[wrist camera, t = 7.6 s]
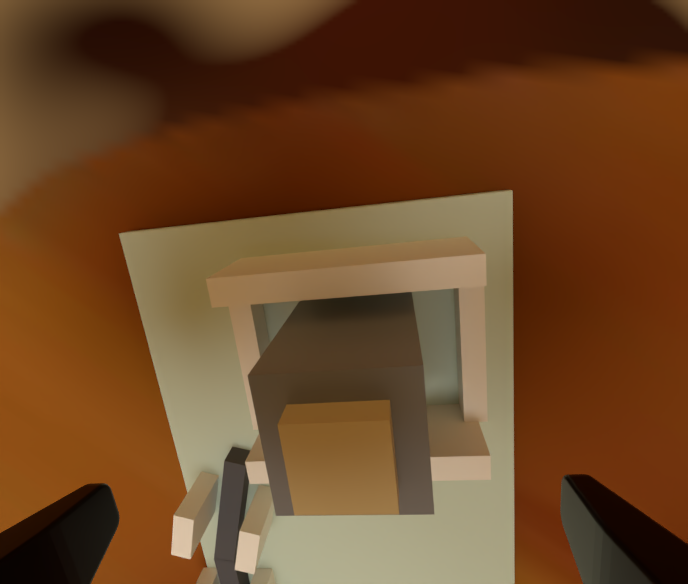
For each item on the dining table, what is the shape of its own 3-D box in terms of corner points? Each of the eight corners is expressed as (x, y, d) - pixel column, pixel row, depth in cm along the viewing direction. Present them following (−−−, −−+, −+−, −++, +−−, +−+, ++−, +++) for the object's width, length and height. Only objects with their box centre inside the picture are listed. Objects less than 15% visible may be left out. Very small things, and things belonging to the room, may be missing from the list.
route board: (507, 189, 14) (512, 190, 13) (511, 670, 20) (515, 685, 20) (128, 231, 16) (118, 233, 15) (238, 658, 22) (235, 671, 22)
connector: (410, 288, 15) (426, 383, 8) (418, 389, 16) (437, 543, 9) (301, 298, 15) (235, 393, 9) (316, 394, 16) (267, 542, 10)
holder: (475, 235, 14) (497, 252, 11) (481, 423, 16) (500, 480, 13) (233, 258, 15) (196, 279, 12) (266, 431, 17) (241, 483, 14)
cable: (251, 446, 17) (244, 460, 16) (288, 625, 20) (284, 645, 19) (198, 447, 18) (188, 461, 17) (242, 624, 20) (235, 643, 20)
